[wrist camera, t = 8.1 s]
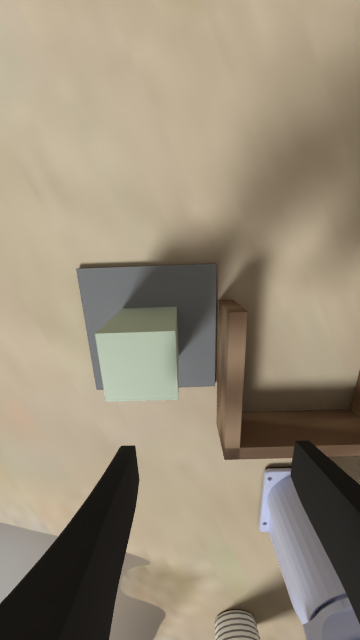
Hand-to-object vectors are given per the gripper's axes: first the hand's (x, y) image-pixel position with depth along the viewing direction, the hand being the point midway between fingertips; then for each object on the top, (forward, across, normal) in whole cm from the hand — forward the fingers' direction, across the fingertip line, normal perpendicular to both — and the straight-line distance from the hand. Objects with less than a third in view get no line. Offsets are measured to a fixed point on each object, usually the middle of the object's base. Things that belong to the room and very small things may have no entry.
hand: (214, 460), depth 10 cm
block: (+10, +4, -3) cm, 11 cm away
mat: (+10, +4, -3) cm, 11 cm away
